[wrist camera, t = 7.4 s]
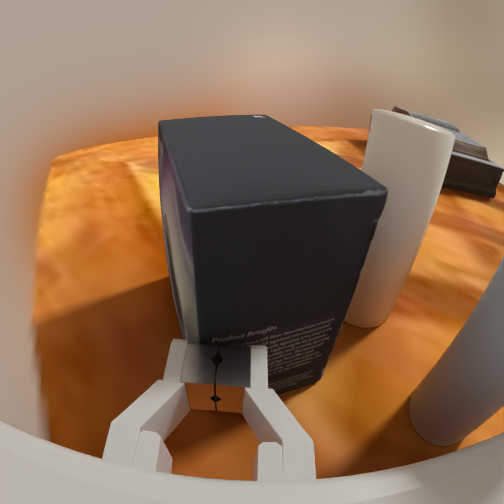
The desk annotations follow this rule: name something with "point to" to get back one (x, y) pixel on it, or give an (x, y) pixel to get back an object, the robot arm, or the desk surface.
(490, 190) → the bible
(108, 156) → the desk surface
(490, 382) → the slate post
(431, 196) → the cream post
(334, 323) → the small box
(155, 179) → the desk surface
